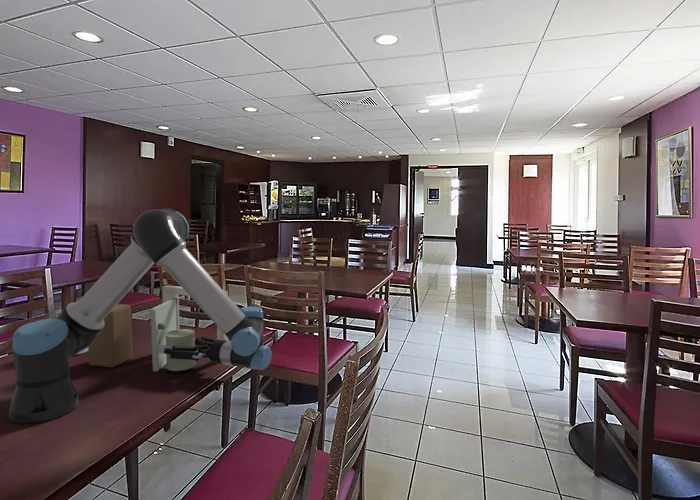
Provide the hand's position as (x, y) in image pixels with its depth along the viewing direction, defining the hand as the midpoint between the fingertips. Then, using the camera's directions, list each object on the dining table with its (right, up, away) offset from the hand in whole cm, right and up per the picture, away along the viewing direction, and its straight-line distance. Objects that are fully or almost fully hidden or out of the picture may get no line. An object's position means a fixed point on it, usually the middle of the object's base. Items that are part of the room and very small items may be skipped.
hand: (169, 344), depth 142 cm
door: (-3, -7, +5) cm, 9 cm away
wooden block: (-22, -7, +4) cm, 24 cm away
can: (+4, -7, -1) cm, 9 cm away
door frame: (+4, -7, +12) cm, 15 cm away
